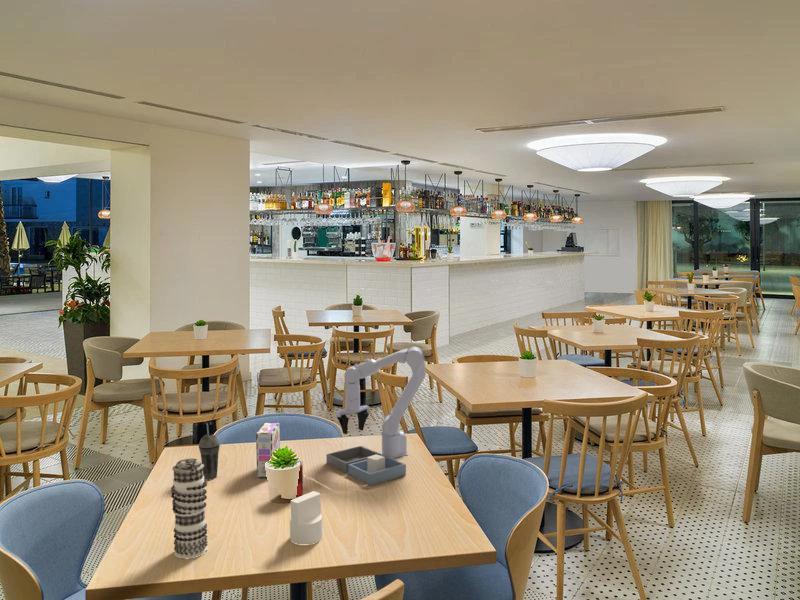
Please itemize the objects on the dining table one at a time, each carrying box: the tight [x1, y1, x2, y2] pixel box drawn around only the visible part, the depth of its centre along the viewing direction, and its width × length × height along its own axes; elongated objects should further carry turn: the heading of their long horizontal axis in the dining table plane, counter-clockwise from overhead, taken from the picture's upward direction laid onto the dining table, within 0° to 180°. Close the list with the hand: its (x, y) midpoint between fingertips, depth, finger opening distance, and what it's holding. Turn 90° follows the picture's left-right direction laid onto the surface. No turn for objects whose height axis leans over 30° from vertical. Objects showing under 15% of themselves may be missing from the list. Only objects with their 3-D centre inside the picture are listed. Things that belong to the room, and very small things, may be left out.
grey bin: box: [326, 445, 381, 474], centre depth 238 cm, size 16×13×4 cm
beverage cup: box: [198, 422, 221, 480], centre depth 225 cm, size 7×7×20 cm
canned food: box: [296, 459, 304, 498], centre depth 209 cm, size 8×8×11 cm
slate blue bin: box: [347, 455, 407, 487], centre depth 227 cm, size 16×13×4 cm
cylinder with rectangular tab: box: [289, 490, 323, 545], centre depth 178 cm, size 9×9×12 cm
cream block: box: [367, 455, 385, 473], centre depth 227 cm, size 4×4×6 cm
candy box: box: [255, 422, 281, 479], centre depth 231 cm, size 14×6×16 cm, turn 179°
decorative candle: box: [170, 457, 208, 559], centre depth 170 cm, size 9×9×25 cm
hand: (353, 431), depth 248 cm, fingers open, 7 cm apart
